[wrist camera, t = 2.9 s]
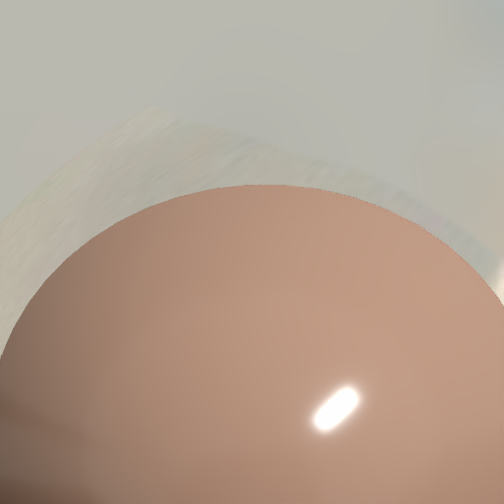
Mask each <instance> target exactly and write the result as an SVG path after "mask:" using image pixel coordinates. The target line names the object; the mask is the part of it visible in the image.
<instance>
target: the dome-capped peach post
mask: <svg viewBox="0 0 504 504" xmlns="http://www.w3.org/2000/svg"><path fill="white" fill-rule="evenodd" d="M0 504H504V306H503V304H502V303H501V301H500V300H499V298H498V297H497V296H496V294H495V293H494V292H493V291H492V289H491V288H490V287H489V286H488V284H487V283H486V282H485V281H484V280H483V278H482V277H481V276H480V275H479V274H478V273H477V271H476V270H475V269H474V268H473V267H471V266H470V265H469V264H468V263H467V262H466V261H465V260H464V259H463V258H462V257H461V256H459V255H458V254H457V253H456V252H455V251H454V250H453V249H452V248H450V247H449V246H448V245H446V244H445V243H444V242H442V241H441V240H439V239H438V238H436V237H435V236H434V235H432V234H431V233H429V232H428V231H426V230H425V229H423V228H422V227H420V226H418V225H417V224H415V223H413V222H411V221H409V220H407V219H405V218H403V217H401V216H399V215H397V214H395V213H393V212H391V211H389V210H387V209H384V208H382V207H379V206H376V205H374V204H371V203H368V202H365V201H362V200H360V199H357V198H354V197H350V196H346V195H342V194H338V193H333V192H329V191H325V190H320V189H314V188H305V187H296V186H287V185H243V186H234V187H225V188H217V189H210V190H206V191H201V192H197V193H193V194H188V195H184V196H180V197H177V198H174V199H171V200H168V201H165V202H162V203H159V204H157V205H154V206H151V207H148V208H146V209H144V210H142V211H140V212H138V213H136V214H133V215H131V216H129V217H127V218H125V219H123V220H121V221H119V222H117V223H116V224H114V225H113V226H111V227H109V228H108V229H106V230H105V231H103V232H101V233H100V234H98V235H97V236H95V237H94V238H92V239H91V240H89V241H88V242H87V243H86V244H84V245H83V246H82V247H81V248H79V249H78V250H77V251H76V252H74V253H73V254H72V255H71V256H70V257H68V258H67V259H66V260H65V261H64V262H63V263H62V264H61V265H60V266H59V267H58V268H57V269H56V270H55V271H54V272H53V273H52V274H51V275H50V277H49V278H48V279H47V280H46V281H45V282H44V283H43V285H42V286H41V287H40V289H39V290H38V291H37V292H36V294H35V295H34V296H33V298H32V299H31V300H30V302H29V303H28V305H27V306H26V308H25V309H24V311H23V313H22V314H21V316H20V318H19V320H18V321H17V323H16V325H15V327H14V328H13V330H12V333H11V335H10V337H9V339H8V342H7V344H6V346H5V349H4V351H3V353H2V356H1V359H0Z"/></svg>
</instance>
